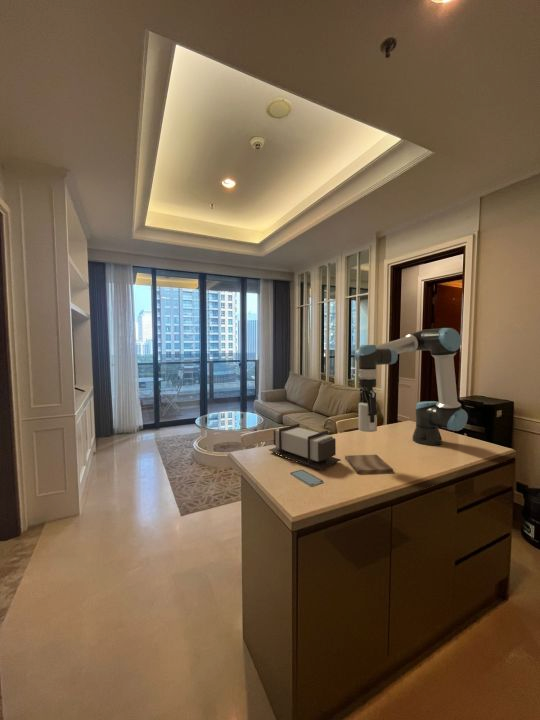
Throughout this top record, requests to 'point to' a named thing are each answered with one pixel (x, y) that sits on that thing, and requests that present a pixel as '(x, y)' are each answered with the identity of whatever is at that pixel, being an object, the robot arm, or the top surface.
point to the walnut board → (368, 464)
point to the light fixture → (305, 446)
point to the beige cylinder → (365, 418)
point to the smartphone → (306, 478)
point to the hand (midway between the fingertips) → (367, 426)
